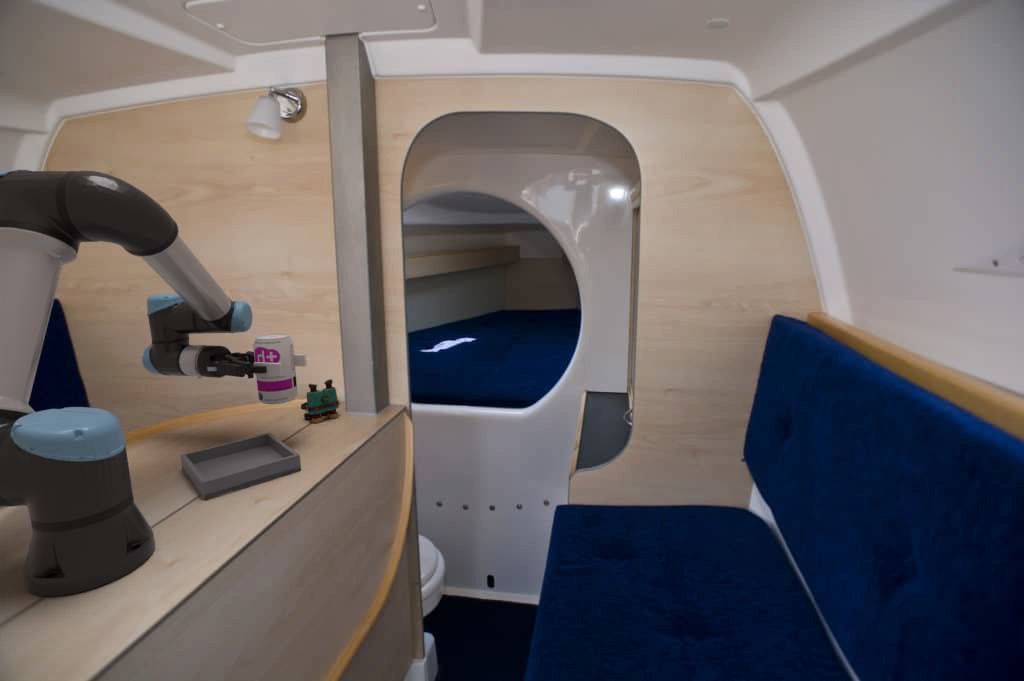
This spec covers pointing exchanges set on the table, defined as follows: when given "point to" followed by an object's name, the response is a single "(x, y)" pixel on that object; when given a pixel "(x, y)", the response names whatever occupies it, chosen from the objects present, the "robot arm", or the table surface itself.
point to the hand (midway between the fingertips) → (293, 364)
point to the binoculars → (321, 402)
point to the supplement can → (276, 351)
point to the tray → (239, 464)
